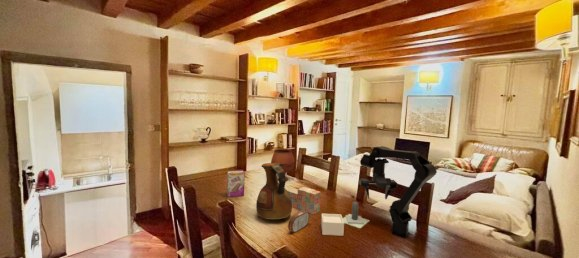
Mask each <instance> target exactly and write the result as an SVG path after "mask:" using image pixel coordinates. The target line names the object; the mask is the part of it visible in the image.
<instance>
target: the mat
mask: <svg viewBox="0 0 579 258" xmlns="http://www.w3.org/2000/svg"><path fill="white" fill-rule="evenodd" d="M347 215H352V213H348V214H347ZM342 219H343V222H344V225H348V226H351V227H354V228H357V229H362V228H363V227H364V226H365V225H367V224H368V223H370V220H369V219H367V218H363V217H362V220H363V222H364V224H348V222H347V219H346V216H344V217H342Z"/></svg>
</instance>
